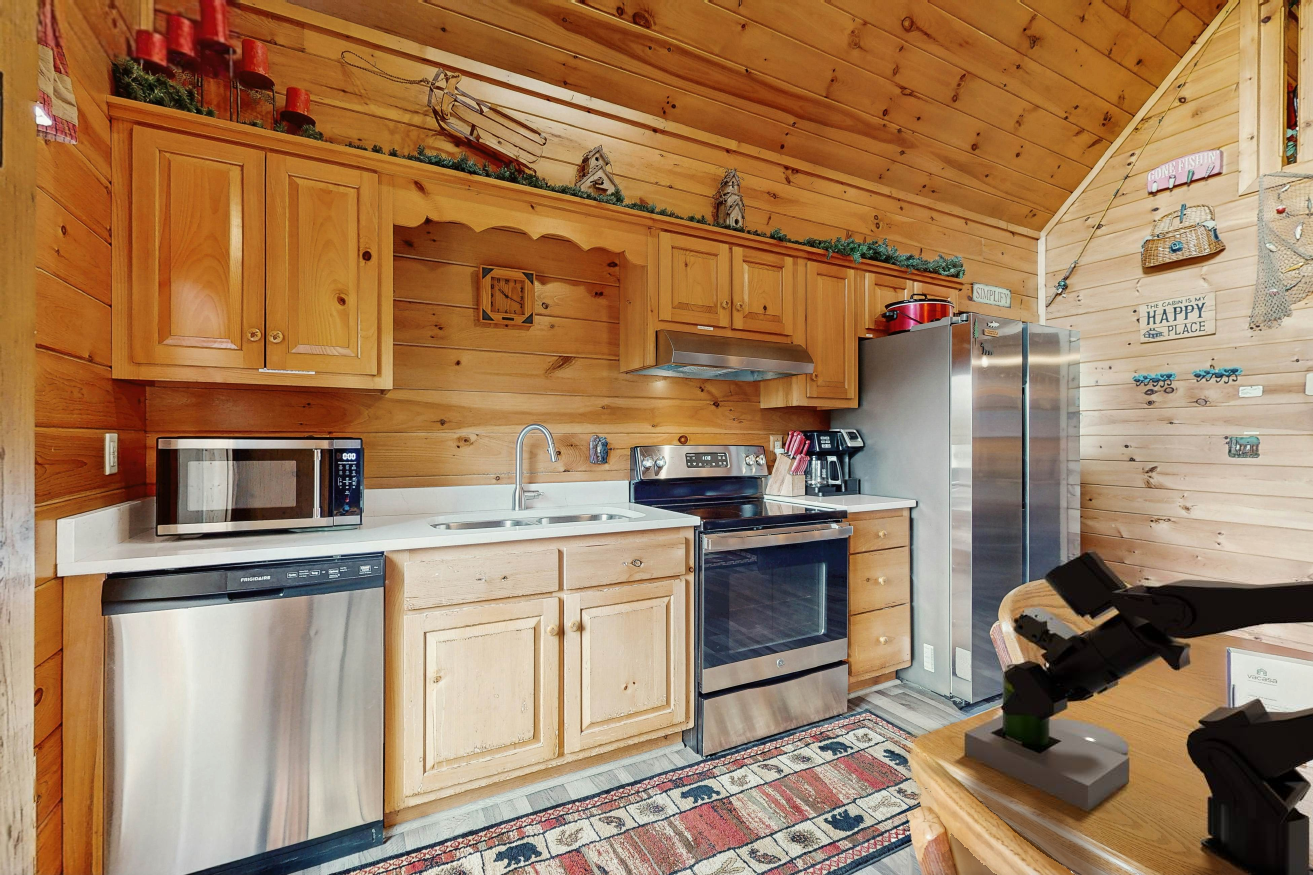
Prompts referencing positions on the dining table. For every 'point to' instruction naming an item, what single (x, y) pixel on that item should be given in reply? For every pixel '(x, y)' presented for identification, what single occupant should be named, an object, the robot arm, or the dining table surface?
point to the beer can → (1024, 725)
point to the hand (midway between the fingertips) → (1014, 706)
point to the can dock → (1052, 764)
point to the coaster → (1091, 734)
